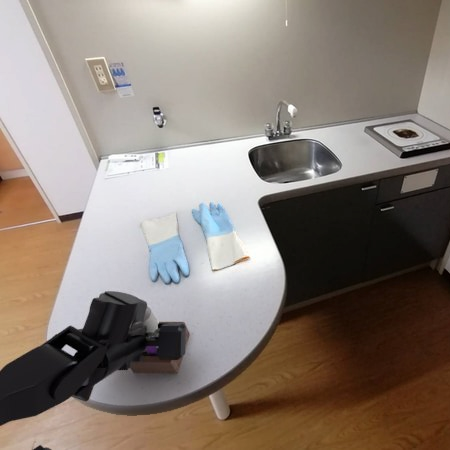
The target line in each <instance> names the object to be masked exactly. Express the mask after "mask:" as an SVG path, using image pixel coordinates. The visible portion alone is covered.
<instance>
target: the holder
mask: <svg viewBox="0 0 450 450" xmlns="http://www.w3.org/2000/svg"><path fill="white" fill-rule="evenodd" d="M159 323H183V324H184V325H185V326H186V342H185V348H186V346H187V343H188V341H189V340H188V339H189V338H190V331H189V328H188V326H187V324H186V322H185V321H159ZM182 360H183V356H182V357H181V358H180V359H179V360H160V359H159V358H158V356H149V354H148V353H147V351H145V352H143V360H141V361H131V362H130V368H129V369H130V370H131V371H132V373H133V374H178V372H179V369H180V365H181V364H182Z"/></svg>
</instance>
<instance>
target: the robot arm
mask: <svg viewBox="0 0 450 450" xmlns="http://www.w3.org/2000/svg"><path fill="white" fill-rule="evenodd" d="M147 306H148V302H147V301H145V300H143V299H141V298H139V297H137V296H135V295H133V294H130V293H127V292H123V291H116V290H115V291H113V290H106V291H104V292H101V293H100V294H99V296H98V297H94V298H92V299H91V301H90V305H89V310H88V313H87V316H86V319H85V322H84V325H83V327H82V328H77V327H75V326H73V325H68V326H67V327H65V328H64V329H62V330H61V331H59V332H58V333H55V335H53V336H52V337H50V339H48V340H46V341H45V342H44V343H42V344H40V345H38V346H36V347H34V348H32V349H30V350H29V351H27V352H25V353H23V354H22V355H20V356H18V357H17V358H15V359H13V360H12V361H10V362H8V363H6V364H5V365H4V366H3V367H2V368H1V369H0V427H1V426H3V425H6V424H8V423H10V422H15V421H20V420H24V419H28V418H33V417H37V416H39V415H41V414H42V413H45V412H47V411H49V410H51V409H52V408H56V407H57V406H58V405H61V404H62V403H65V402H66V401H68V400H69V399H70V398H74V399H77V400H80V401H82V402H86V403H87V402H88V401H89V400H90V398H91V395H92V392H93V390H94V388H95V385H97V384H98V383H100V382H101V381H103V380H105V379H106V378H108V377H110V376H111V375H112V374H114V373H116V372H117V371H128V370H129V369H130V362H131V361H141V360H143V352H145V351H146V346H157V355H158V358H159V359H160V360H179V359H180V358H181V357H182V358H183V356H185V355H186V347H185V342H186V327H187V325H186V326H185V325H184V324H183V323H158V329H156V330H155V331H154V332H146V331H147V326H142V324H143V321H144V316H145V312H146V308H147ZM153 337H154V338H153ZM65 346H69V347H70V348H71V349H73V350H74V351H76V352H75V353H74V354H73V355H72V354H70V353H68V352H67V351H65V350H64V349H63V348H64V347H65ZM32 450H53V449H52V448H51V447H44V446H43V445H41V444H39V445H37V446H36V447H35V448H33V449H32Z"/></svg>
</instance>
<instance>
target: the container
mask: <svg viewBox="0 0 450 450" xmlns="http://www.w3.org/2000/svg"><path fill="white" fill-rule="evenodd" d="M159 322H160V321H159V320H158V318H157V317H156V315H155V313H154V311H153V310H152V309H151V307H150V306H148V305H147V308H146V312H145V316H144V321H143V324H142V326H147V331H146V332H154V331H155V330H156V329H158V323H159ZM153 338H154V337H153ZM146 351H147V353H148V356H158V355H157V346H146Z"/></svg>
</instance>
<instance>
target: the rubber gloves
mask: <svg viewBox="0 0 450 450" xmlns="http://www.w3.org/2000/svg"><path fill="white" fill-rule="evenodd" d="M198 208H199V210H198V209H196V208H192V209H191V214H192V217H193V218H194V220H195V221H196V222H197V223H198V224H199V225H201V228H202V232H203V233H204V236H205V241H206V246H207V252H208V257H209V263H210V268H211V271H212V272H215V271H218V270H222V269H225V268H227V267H230V266H233V265H234V264H237V263H240V262H243V261H245V260H248V259H250V258H251V256H250V254H249V253H248V250H247V249H246V247H245V245H244V243H243V242H242V240H241V239H240V237H239V236H238V234H237V232H236V230H235V227H234V225H233V223H232V221H231V219H230V216H229V215H228V212H227V210H226V208H225V207H224V206H223V205H222V204H221V203H217V204H215V203H214V202H212V201H211V202H209V207H208V206H207V205H206V203H204V202H200V203H199V204H198ZM140 226H141V230H142V232H143V235H144V238H145V241H146V244H147V246H148V251H149V253H150V256H149V265H148V274H149V278H150V279H151V281H152V282H156V281H157V280H158V277H159V275H160V277H161V279H162V281H163V282H164V283H165V284H170V283H171V281H173V282H174V283H175V284H177V283H179V282H180V274H179V269H180V270H181V272H182V274H183V276H184V277H188V276H189V275H190V269H189V267H190V266H189V262H188V259H187V257H186V254H185V251H184V244H183V241H182V239H181V237H180V234H179V223H178V216H177V212H176V211H173V212H171V213H170V214H168V215H166V216H163V217H159V218H156V219H151V220H144V221H142V222H140Z"/></svg>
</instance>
